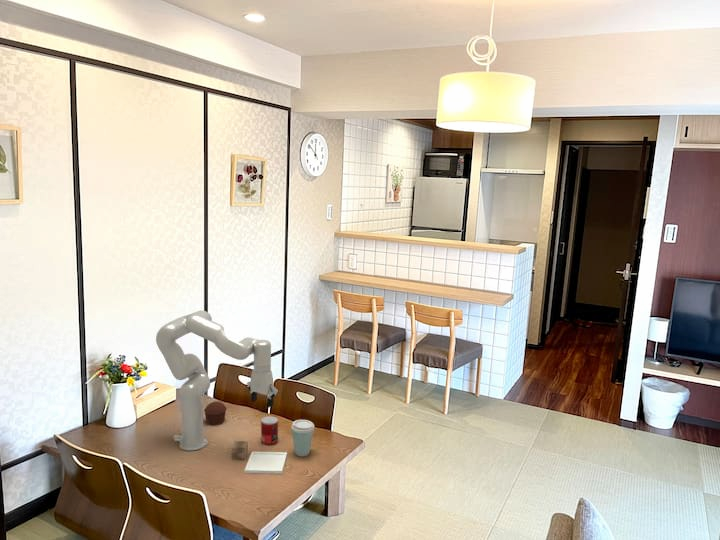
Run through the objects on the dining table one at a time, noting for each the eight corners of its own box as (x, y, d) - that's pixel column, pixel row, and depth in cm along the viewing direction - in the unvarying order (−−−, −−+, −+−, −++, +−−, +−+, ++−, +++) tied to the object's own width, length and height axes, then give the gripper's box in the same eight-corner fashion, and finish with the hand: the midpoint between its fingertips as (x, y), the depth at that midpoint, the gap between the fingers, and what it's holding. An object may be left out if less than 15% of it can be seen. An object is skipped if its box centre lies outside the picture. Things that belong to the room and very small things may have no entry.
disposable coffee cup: (304, 445, 257) (304, 415, 254) (319, 453, 249) (319, 423, 247) (286, 452, 249) (286, 422, 247) (300, 461, 242) (301, 430, 239)
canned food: (274, 446, 255) (274, 424, 254) (258, 444, 257) (258, 422, 255) (280, 438, 263) (280, 417, 261) (264, 436, 264) (264, 415, 263)
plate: (244, 473, 231) (244, 470, 231) (251, 454, 247) (251, 451, 247) (282, 474, 231) (282, 470, 231) (287, 455, 247) (286, 452, 247)
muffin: (202, 418, 282) (202, 400, 281) (224, 415, 287) (224, 397, 285) (206, 428, 272) (206, 409, 270) (228, 424, 276) (228, 405, 275)
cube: (231, 459, 242) (231, 447, 241) (234, 453, 248) (234, 441, 247) (245, 460, 242) (245, 447, 241) (247, 453, 248) (247, 441, 247)
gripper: (242, 366, 244) (242, 402, 247) (271, 374, 235) (271, 411, 238) (253, 361, 250) (253, 396, 253) (282, 369, 242) (282, 405, 245)
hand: (262, 403), depth 246 cm, fingers open, 9 cm apart
